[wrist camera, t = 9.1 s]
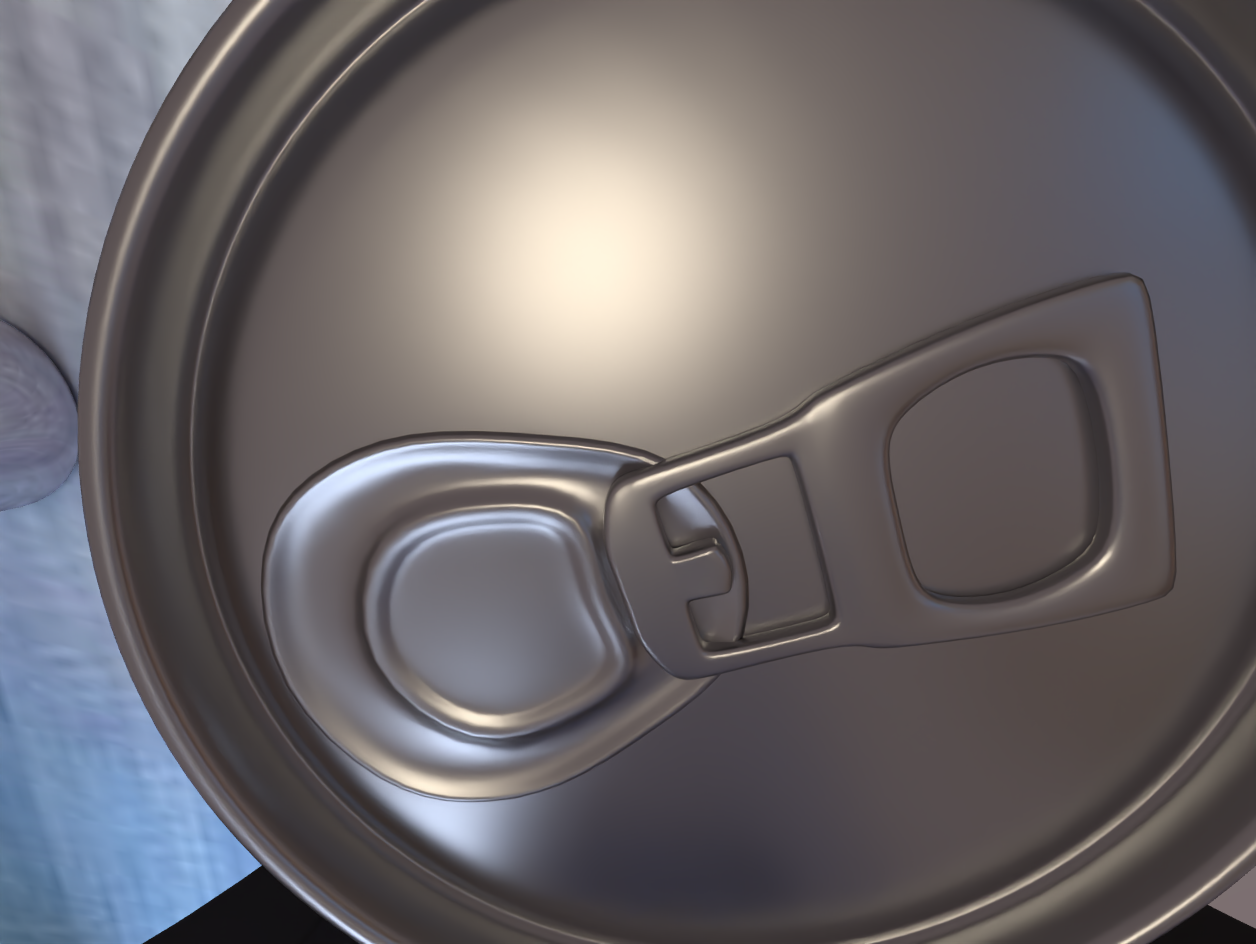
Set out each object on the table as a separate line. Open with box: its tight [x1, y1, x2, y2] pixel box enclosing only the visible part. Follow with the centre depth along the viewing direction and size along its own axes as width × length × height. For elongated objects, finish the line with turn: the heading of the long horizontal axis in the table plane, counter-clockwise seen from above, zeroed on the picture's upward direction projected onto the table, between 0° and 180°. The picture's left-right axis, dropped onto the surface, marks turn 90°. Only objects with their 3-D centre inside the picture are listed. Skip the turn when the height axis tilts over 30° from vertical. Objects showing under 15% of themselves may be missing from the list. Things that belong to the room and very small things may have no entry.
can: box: [78, 0, 1256, 944], centre depth 8 cm, size 6×6×12 cm
